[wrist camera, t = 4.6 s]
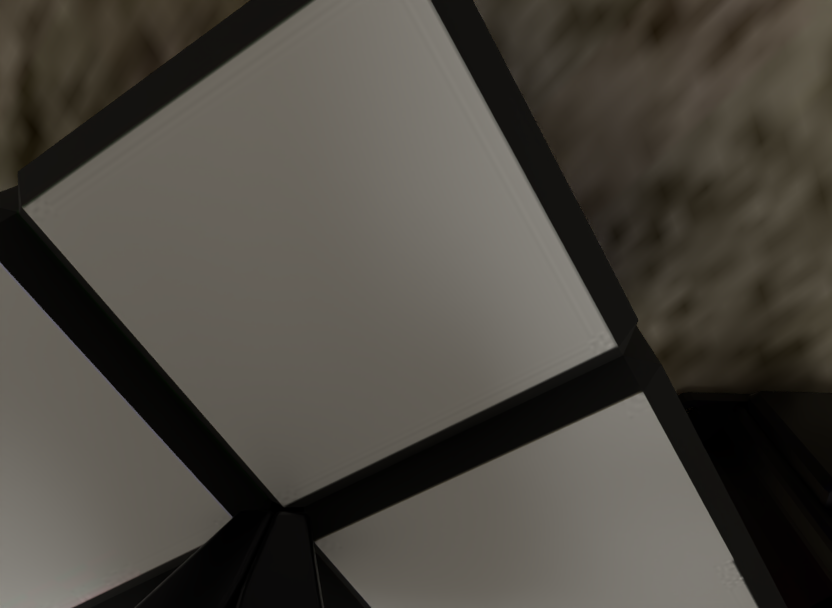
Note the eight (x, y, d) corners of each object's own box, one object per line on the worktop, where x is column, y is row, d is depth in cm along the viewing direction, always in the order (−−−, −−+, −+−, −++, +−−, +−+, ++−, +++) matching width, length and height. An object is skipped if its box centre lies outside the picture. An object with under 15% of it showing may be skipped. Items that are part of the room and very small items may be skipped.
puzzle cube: (615, 317, 17) (810, 644, 8) (321, 463, 20) (218, 841, 11) (428, -30, 14) (407, -131, 5) (102, 196, 16) (-322, 412, 7)
